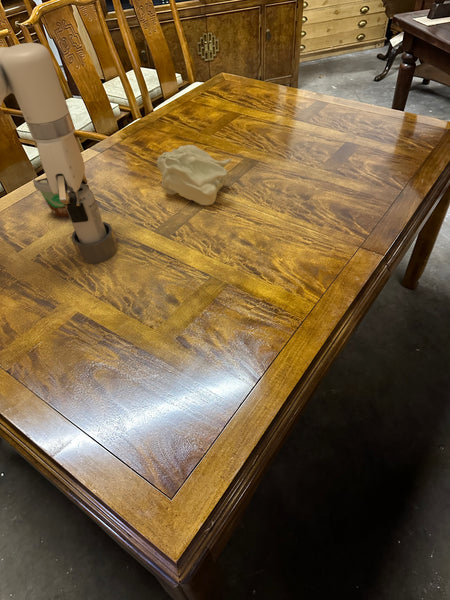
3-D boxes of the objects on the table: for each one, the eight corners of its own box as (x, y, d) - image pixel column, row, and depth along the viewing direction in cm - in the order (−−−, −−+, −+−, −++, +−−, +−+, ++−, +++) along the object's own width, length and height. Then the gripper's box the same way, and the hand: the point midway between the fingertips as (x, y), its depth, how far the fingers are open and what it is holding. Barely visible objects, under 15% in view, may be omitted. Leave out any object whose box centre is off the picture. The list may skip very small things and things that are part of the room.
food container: (49, 225, 102) (33, 189, 95) (46, 213, 107) (30, 178, 99) (99, 211, 105) (86, 175, 98) (94, 199, 109) (81, 164, 102)
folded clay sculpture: (218, 213, 112) (244, 162, 103) (196, 229, 102) (222, 175, 93) (165, 176, 114) (185, 123, 104) (137, 189, 104) (157, 131, 94)
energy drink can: (86, 241, 96) (63, 183, 85) (112, 239, 96) (92, 180, 85) (82, 258, 92) (57, 199, 81) (109, 255, 91) (88, 196, 81)
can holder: (75, 265, 91) (67, 247, 87) (82, 241, 97) (75, 223, 94) (115, 261, 91) (109, 243, 87) (119, 237, 97) (113, 219, 93)
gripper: (41, 108, 80) (73, 191, 93) (16, 150, 68) (56, 239, 81) (80, 104, 80) (106, 188, 93) (62, 145, 68) (95, 235, 81)
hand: (83, 211), depth 86 cm, fingers closed on energy drink can, 6 cm apart
